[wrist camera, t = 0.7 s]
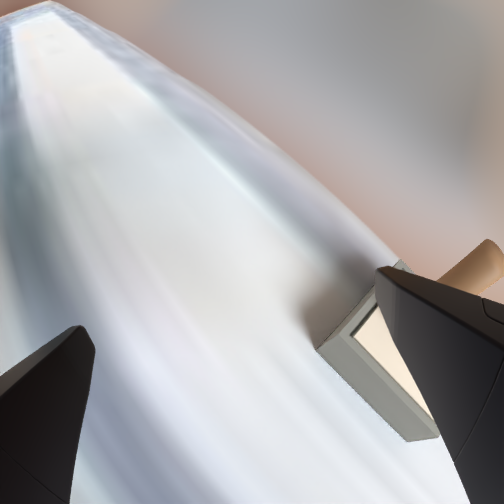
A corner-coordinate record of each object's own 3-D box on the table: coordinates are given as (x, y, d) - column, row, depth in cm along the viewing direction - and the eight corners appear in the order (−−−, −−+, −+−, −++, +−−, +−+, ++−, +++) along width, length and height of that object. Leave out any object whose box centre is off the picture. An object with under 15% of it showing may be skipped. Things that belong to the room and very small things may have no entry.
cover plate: (347, 341, 22) (452, 262, 13) (395, 280, 26) (479, 200, 17) (428, 425, 19) (547, 388, 10) (463, 355, 24) (557, 301, 15)
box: (315, 350, 24) (338, 334, 21) (378, 279, 29) (400, 258, 26) (407, 442, 21) (438, 437, 18) (453, 360, 26) (480, 347, 23)
